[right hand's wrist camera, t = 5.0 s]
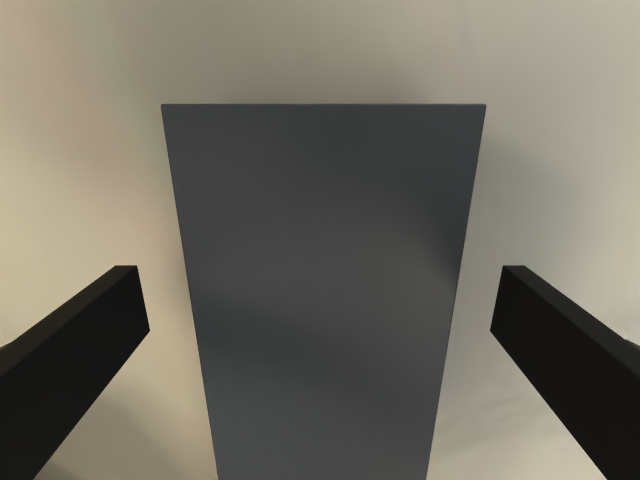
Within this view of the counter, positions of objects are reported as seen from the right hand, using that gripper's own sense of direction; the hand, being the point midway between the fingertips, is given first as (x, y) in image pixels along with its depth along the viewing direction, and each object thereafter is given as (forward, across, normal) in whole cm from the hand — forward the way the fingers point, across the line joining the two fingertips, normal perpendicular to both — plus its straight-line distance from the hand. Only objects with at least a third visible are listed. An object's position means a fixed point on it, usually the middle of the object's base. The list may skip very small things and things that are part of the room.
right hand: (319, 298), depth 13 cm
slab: (+8, 0, -24) cm, 25 cm away
